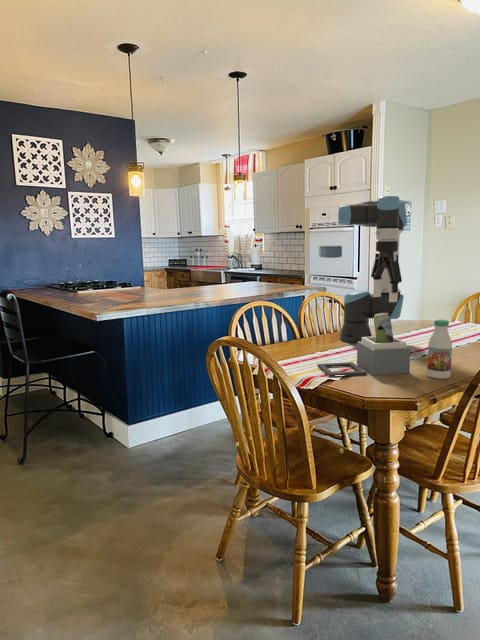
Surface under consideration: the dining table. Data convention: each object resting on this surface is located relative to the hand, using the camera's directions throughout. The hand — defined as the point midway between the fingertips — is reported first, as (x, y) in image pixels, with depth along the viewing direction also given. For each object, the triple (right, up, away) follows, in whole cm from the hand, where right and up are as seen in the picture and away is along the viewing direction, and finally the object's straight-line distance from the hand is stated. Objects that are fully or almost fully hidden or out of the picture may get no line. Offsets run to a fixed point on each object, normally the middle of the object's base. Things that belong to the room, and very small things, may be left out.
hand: (384, 299), depth 173 cm
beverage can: (0, -17, +3) cm, 17 cm away
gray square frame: (-16, -26, +2) cm, 31 cm away
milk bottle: (+17, -28, -7) cm, 33 cm away
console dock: (0, -26, +4) cm, 26 cm away
